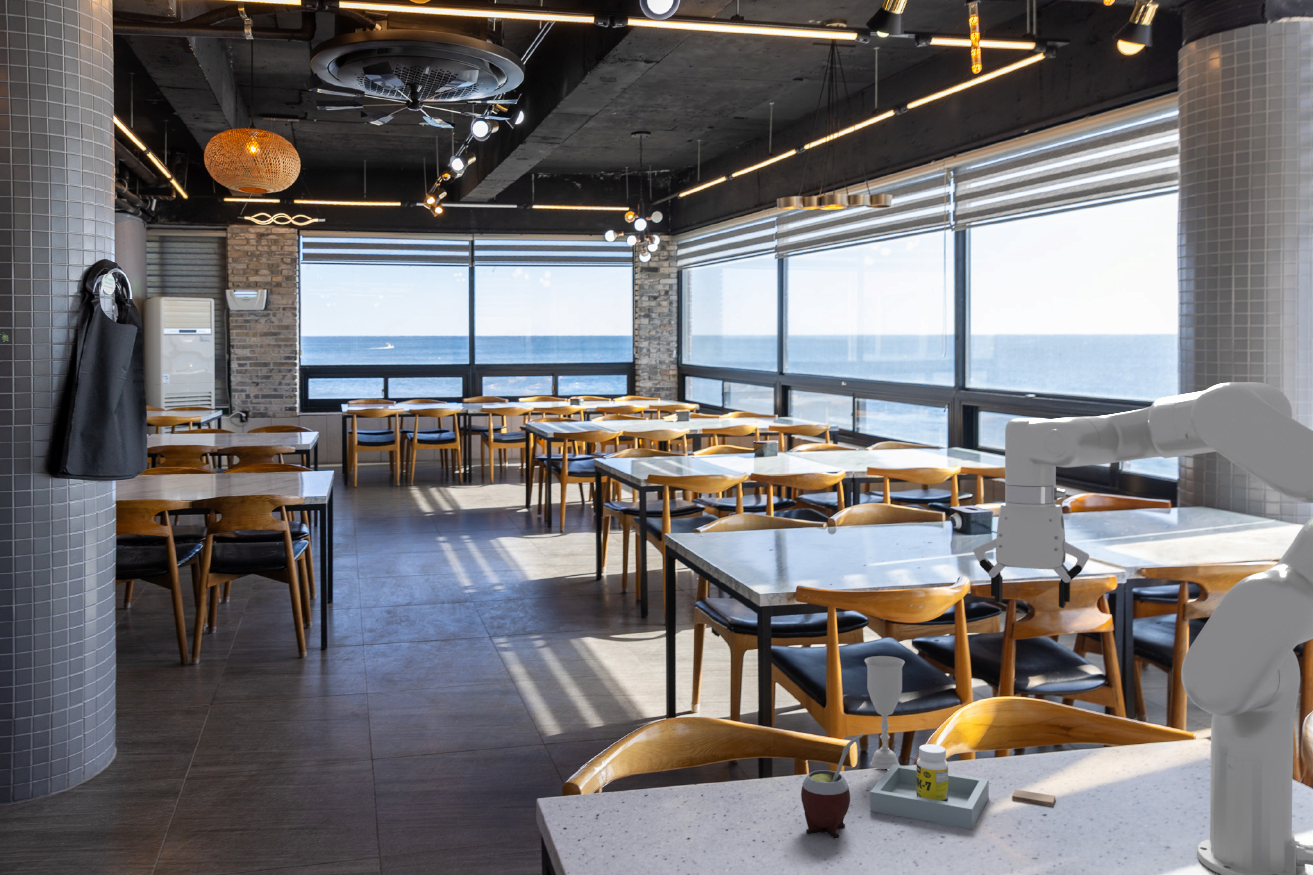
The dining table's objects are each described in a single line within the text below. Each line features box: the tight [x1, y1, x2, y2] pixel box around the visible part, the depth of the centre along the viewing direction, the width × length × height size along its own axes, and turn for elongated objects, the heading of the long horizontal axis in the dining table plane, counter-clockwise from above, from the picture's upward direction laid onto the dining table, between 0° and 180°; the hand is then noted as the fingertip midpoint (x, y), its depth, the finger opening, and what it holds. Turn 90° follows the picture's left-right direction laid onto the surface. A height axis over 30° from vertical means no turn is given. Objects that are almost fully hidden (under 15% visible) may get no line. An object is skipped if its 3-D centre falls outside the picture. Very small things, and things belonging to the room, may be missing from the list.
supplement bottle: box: [916, 743, 949, 802], centre depth 160 cm, size 5×5×8 cm
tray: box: [869, 764, 990, 830], centre depth 160 cm, size 15×13×3 cm
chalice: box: [863, 655, 906, 770], centre depth 177 cm, size 7×7×18 cm
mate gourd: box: [800, 732, 865, 840], centre depth 151 cm, size 8×8×15 cm
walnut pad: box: [1011, 789, 1056, 807], centre depth 161 cm, size 6×3×1 cm, turn 62°
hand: (1030, 603), depth 163 cm, fingers open, 9 cm apart
